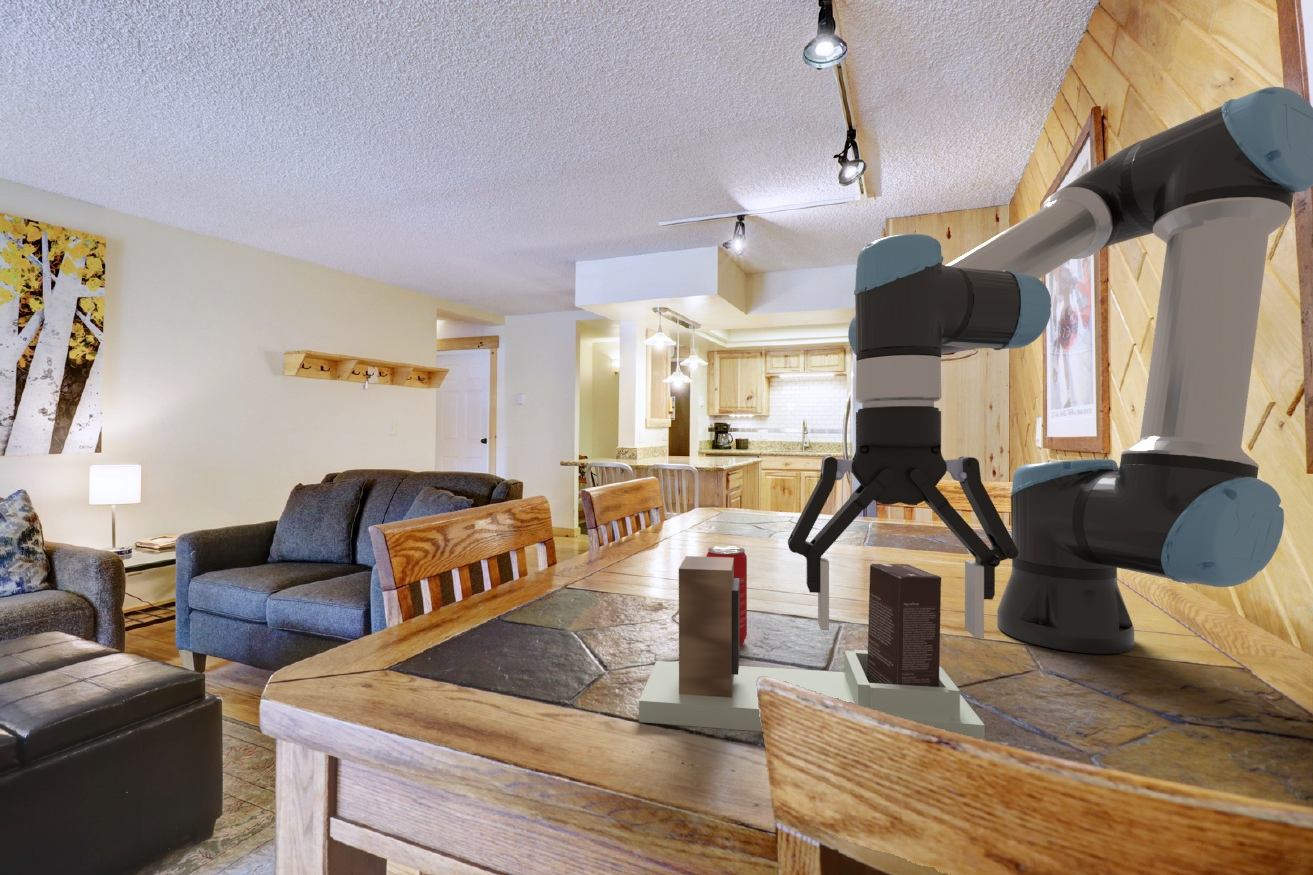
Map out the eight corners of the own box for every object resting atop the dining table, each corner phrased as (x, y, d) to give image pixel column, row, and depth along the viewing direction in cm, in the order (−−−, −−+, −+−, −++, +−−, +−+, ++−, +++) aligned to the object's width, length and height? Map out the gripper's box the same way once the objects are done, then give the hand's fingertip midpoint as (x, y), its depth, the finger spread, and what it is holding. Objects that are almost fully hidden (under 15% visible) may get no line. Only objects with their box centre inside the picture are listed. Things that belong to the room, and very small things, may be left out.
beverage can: (745, 650, 75) (745, 554, 75) (704, 648, 76) (703, 552, 76) (747, 637, 80) (747, 546, 80) (708, 634, 81) (708, 544, 81)
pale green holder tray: (948, 697, 62) (948, 653, 62) (984, 748, 52) (984, 695, 52) (656, 679, 66) (656, 638, 66) (639, 721, 57) (638, 673, 57)
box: (943, 709, 55) (943, 575, 55) (895, 711, 54) (896, 576, 54) (907, 682, 61) (908, 561, 61) (864, 684, 60) (865, 562, 60)
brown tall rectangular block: (739, 673, 63) (739, 557, 63) (738, 697, 57) (737, 570, 57) (686, 669, 64) (685, 556, 64) (678, 693, 58) (678, 568, 58)
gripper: (1023, 406, 59) (1022, 623, 59) (763, 408, 63) (763, 611, 63) (1061, 402, 52) (1060, 650, 52) (764, 405, 56) (764, 635, 56)
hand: (897, 629), depth 58 cm, fingers open, 13 cm apart
